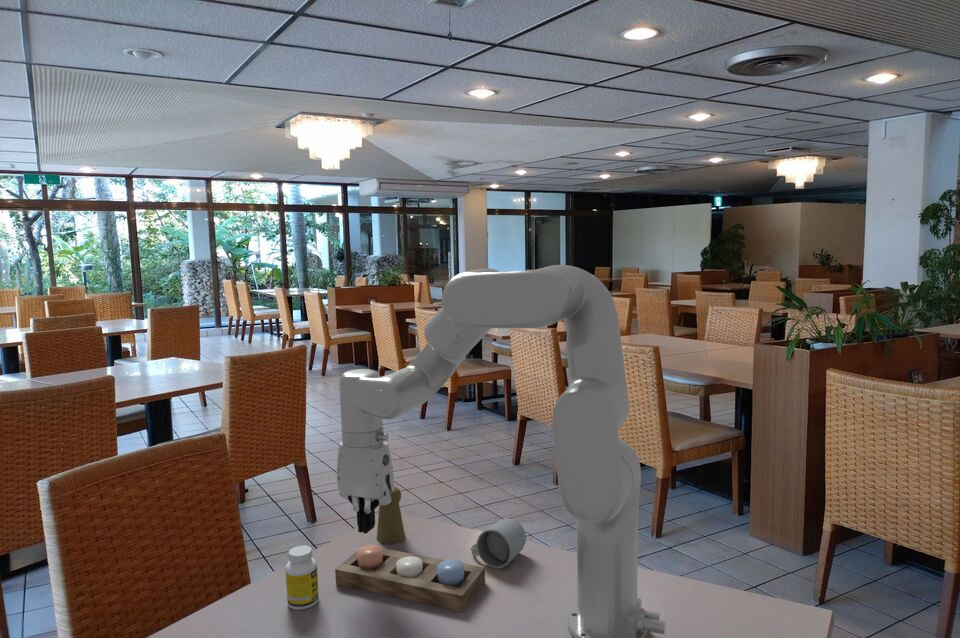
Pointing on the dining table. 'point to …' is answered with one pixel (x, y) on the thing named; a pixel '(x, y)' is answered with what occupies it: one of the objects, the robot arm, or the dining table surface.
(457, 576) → the blue rounded knob
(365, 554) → the pink rounded dome
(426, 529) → the dining table surface
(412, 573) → the cream button
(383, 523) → the olive game pawn
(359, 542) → the dining table surface
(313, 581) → the supplement bottle
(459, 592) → the wooden compartment tray
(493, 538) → the ceramic mug
